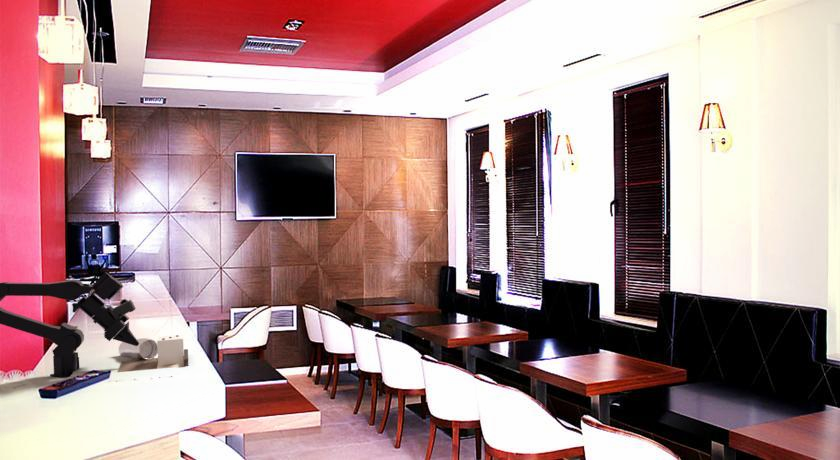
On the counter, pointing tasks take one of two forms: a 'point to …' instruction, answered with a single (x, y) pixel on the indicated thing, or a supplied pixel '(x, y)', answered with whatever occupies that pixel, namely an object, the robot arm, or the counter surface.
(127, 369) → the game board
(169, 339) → the ivory die
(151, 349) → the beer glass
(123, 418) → the counter surface
